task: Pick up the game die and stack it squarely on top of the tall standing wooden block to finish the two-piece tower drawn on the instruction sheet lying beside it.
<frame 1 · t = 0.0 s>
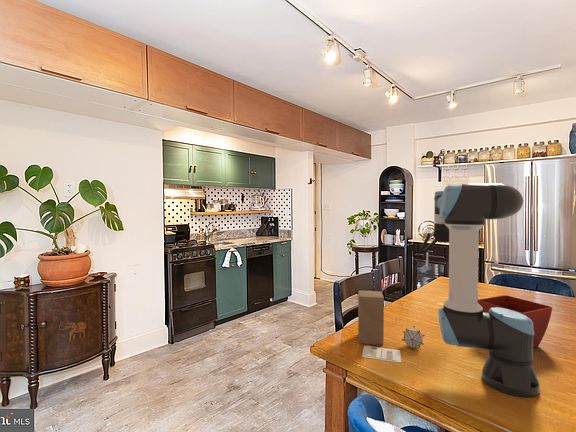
hand: (442, 267, 151), 28 cm above the table, fingers open, 13 cm apart
plant pot: (512, 343, 131), on the table
wooden block: (370, 340, 134), on the table
instruction page: (381, 353, 121), on the table
game die: (413, 347, 127), on the table
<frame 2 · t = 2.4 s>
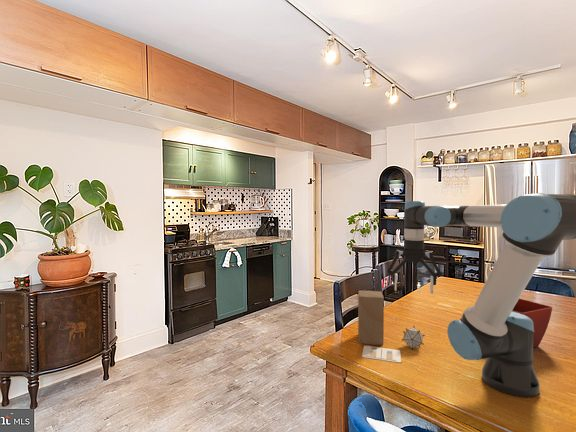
hand: (413, 291, 126), 23 cm above the table, fingers open, 13 cm apart
nothing on the table moved.
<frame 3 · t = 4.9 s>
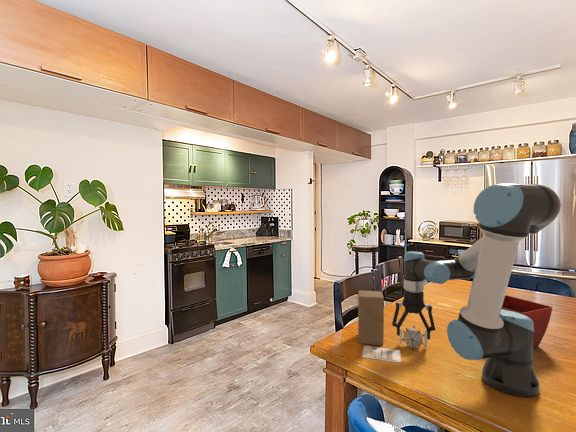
hand: (413, 344, 127), 1 cm above the table, fingers closed on game die, 9 cm apart
game die: (413, 347, 127), on the table, touching gripper
everything else where it was.
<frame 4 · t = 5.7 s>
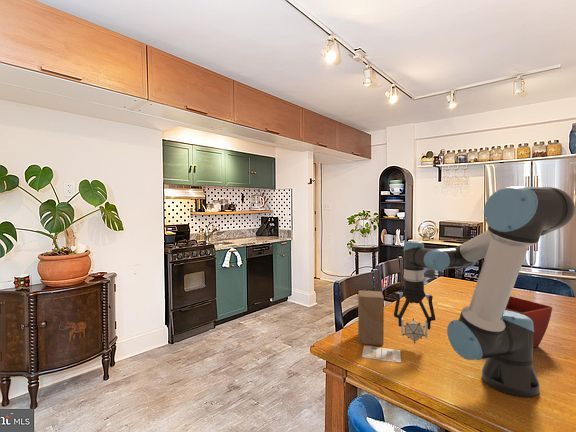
hand: (414, 335, 126), 5 cm above the table, fingers closed on game die, 8 cm apart
game die: (415, 340, 126), point 3 cm above the table, touching gripper
everything else where it was.
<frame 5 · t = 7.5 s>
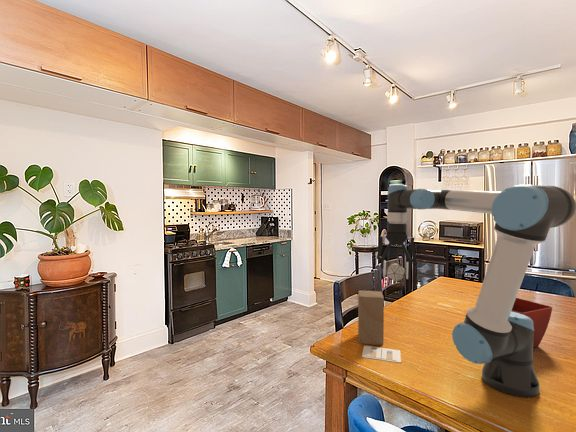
hand: (395, 277, 129), 28 cm above the table, fingers closed on game die, 8 cm apart
game die: (396, 282, 129), point 26 cm above the table, touching gripper
everything else where it was.
when the fingers open (22 cm above the table, at t = 9.5 s): game die stays where it is, resting on wooden block.
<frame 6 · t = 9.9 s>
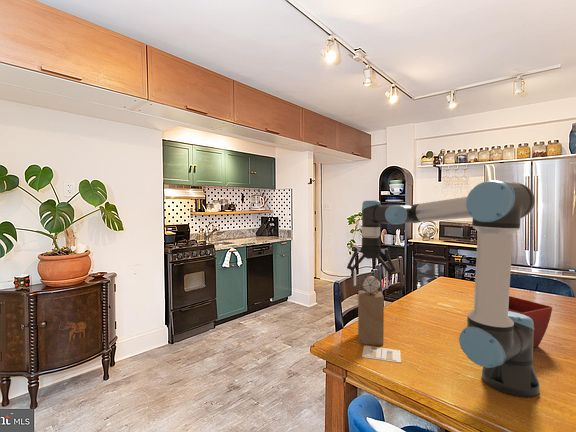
hand: (370, 286, 133), 23 cm above the table, fingers open, 13 cm apart
wooden block: (370, 340, 134), on the table, touching game die
game die: (371, 294, 133), point 20 cm above the table, touching wooden block
everything else where it was.
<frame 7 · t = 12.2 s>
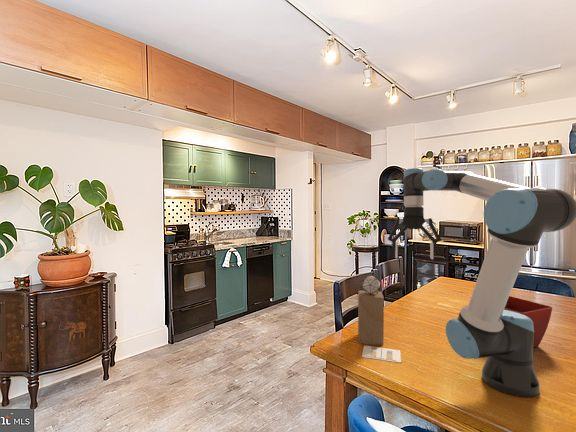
hand: (413, 258, 128), 36 cm above the table, fingers open, 13 cm apart
nothing on the table moved.
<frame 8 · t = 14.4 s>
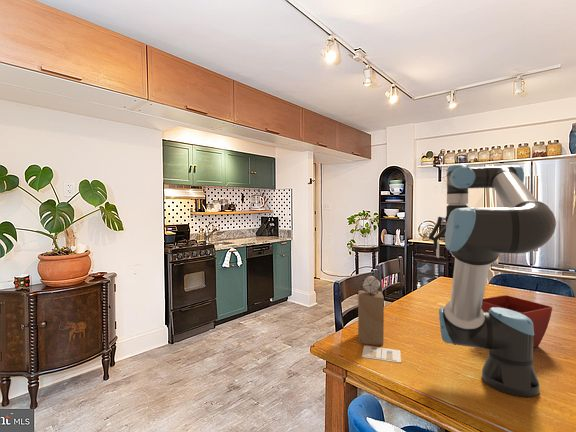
hand: (456, 258, 124), 37 cm above the table, fingers open, 13 cm apart
nothing on the table moved.
at the end: game die inside the target area in the wooden block (0.3 cm from its centre), point 20.0 cm above the wooden block's base; game die tilted 0°; game die touching wooden block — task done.
